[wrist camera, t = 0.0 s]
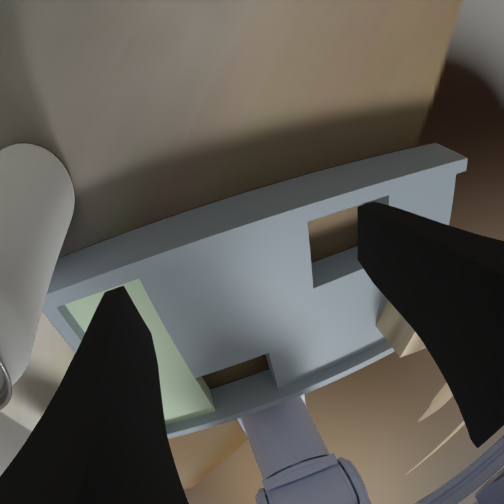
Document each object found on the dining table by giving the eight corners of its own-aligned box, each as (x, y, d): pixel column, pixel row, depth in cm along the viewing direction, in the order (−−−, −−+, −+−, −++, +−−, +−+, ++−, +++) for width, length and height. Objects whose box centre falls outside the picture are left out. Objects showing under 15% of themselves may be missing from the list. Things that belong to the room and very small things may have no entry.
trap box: (412, 310, 33) (430, 330, 30) (156, 410, 28) (161, 440, 26) (435, 142, 21) (467, 158, 19) (45, 263, 17) (33, 299, 15)
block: (433, 274, 26) (461, 301, 23) (412, 316, 29) (436, 343, 25) (396, 280, 24) (425, 312, 21) (375, 326, 27) (399, 357, 24)
